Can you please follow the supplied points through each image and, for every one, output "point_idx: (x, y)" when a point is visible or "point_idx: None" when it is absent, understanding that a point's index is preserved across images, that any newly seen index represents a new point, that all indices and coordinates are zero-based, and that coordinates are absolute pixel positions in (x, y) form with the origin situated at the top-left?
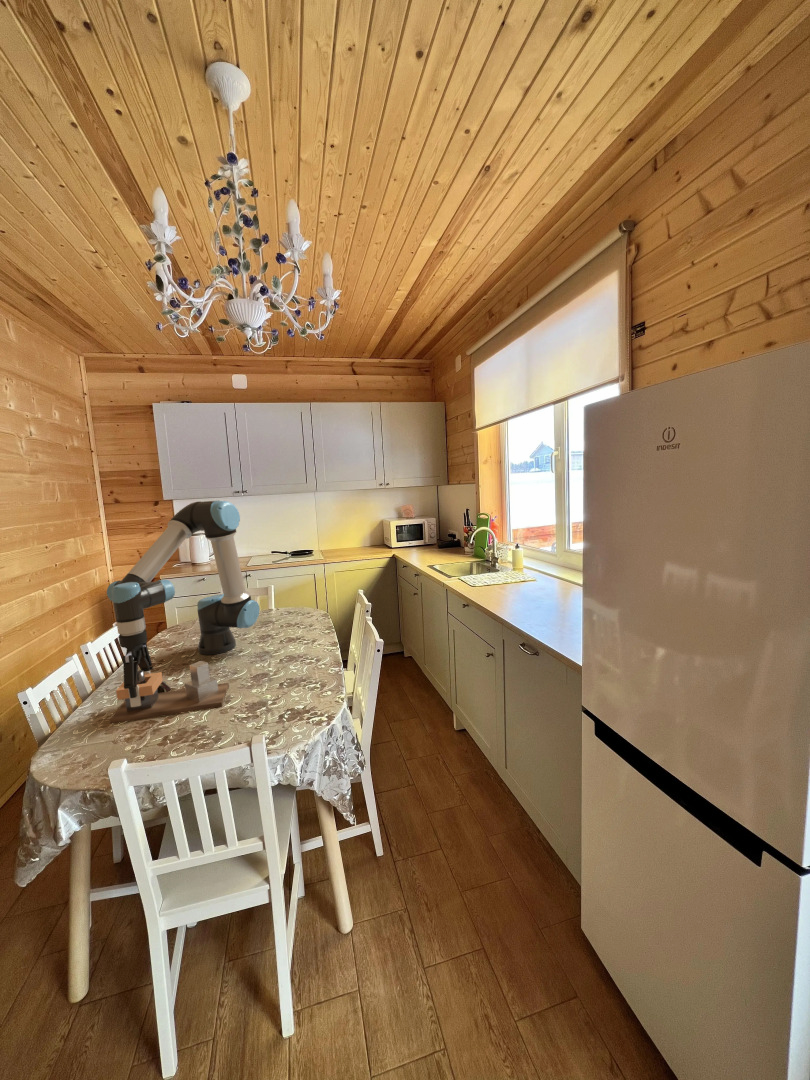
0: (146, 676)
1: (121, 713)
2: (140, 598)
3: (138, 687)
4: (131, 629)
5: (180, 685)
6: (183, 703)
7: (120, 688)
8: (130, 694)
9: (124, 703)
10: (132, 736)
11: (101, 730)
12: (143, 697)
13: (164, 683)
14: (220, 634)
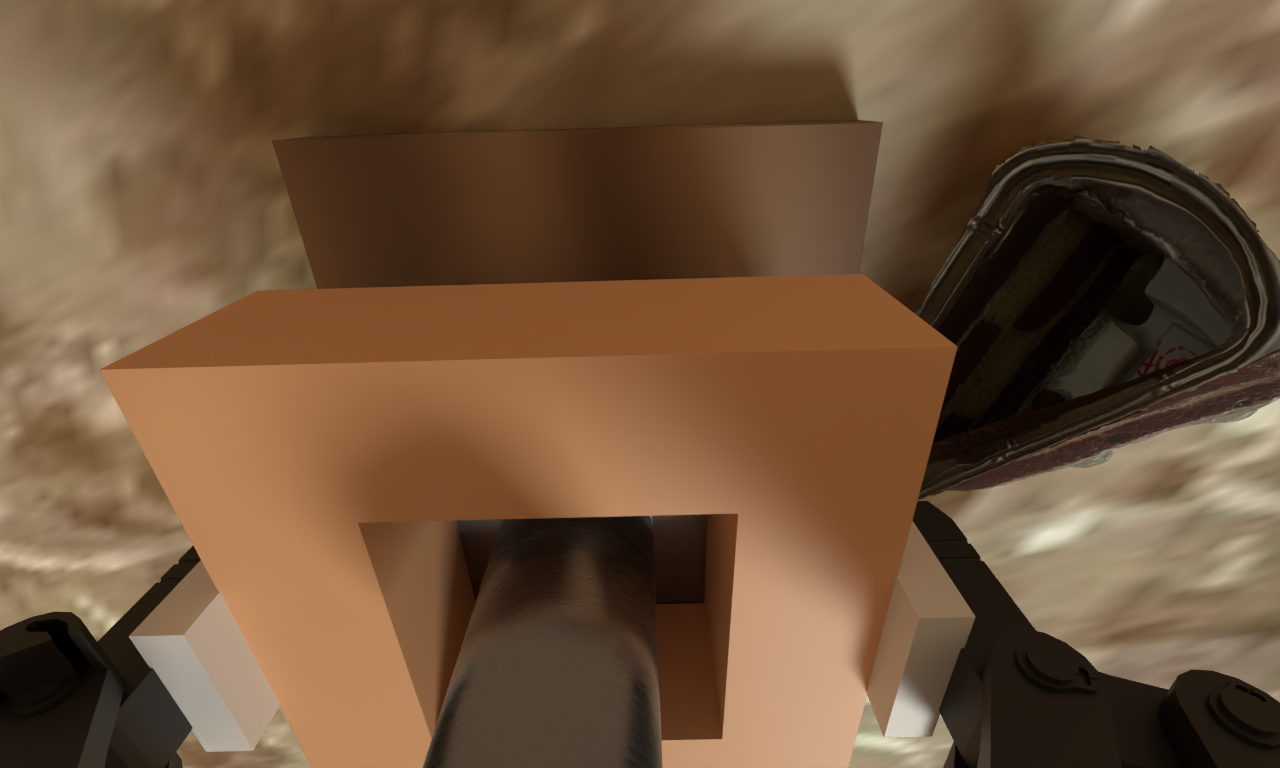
0: (748, 684)
1: (415, 232)
2: None
3: (258, 712)
4: None
5: (992, 542)
6: None
7: (222, 427)
8: (169, 581)
9: (694, 155)
10: (103, 450)
11: (165, 84)
12: None
13: (1044, 469)
14: None
